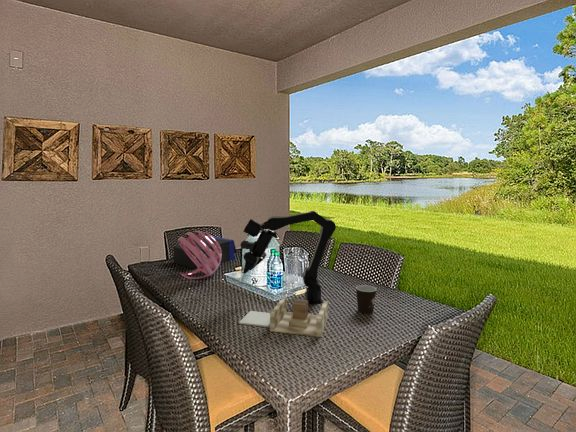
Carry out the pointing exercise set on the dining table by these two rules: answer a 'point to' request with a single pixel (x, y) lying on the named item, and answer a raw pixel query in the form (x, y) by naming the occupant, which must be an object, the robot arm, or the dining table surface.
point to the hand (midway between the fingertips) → (246, 271)
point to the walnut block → (300, 309)
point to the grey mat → (256, 319)
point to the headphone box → (226, 248)
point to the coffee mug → (365, 298)
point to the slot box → (297, 321)
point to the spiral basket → (201, 253)
